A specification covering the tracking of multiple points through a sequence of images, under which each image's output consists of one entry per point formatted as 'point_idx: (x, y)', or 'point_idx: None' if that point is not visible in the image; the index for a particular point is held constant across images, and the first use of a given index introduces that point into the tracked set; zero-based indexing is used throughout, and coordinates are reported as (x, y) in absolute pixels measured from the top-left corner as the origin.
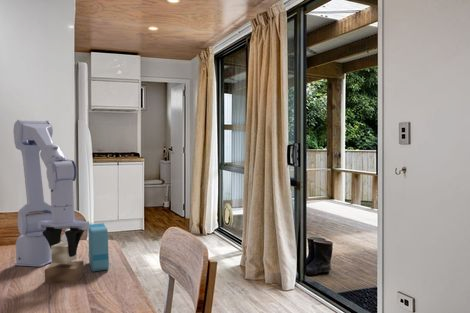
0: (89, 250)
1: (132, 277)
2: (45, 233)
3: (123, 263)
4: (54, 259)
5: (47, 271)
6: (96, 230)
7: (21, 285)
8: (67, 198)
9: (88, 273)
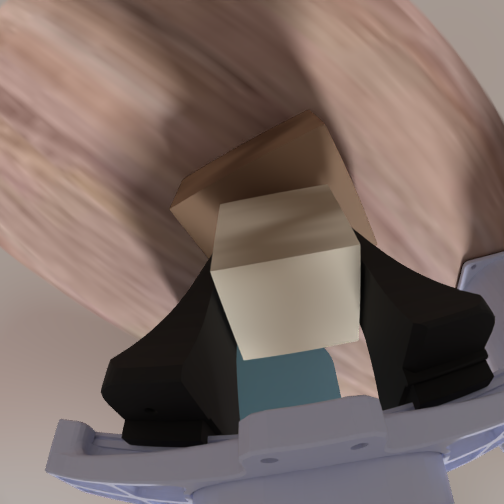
0: (317, 381)
1: (64, 292)
2: (454, 306)
3: None
4: (309, 196)
5: (307, 128)
6: None
7: (397, 66)
8: None
9: None
